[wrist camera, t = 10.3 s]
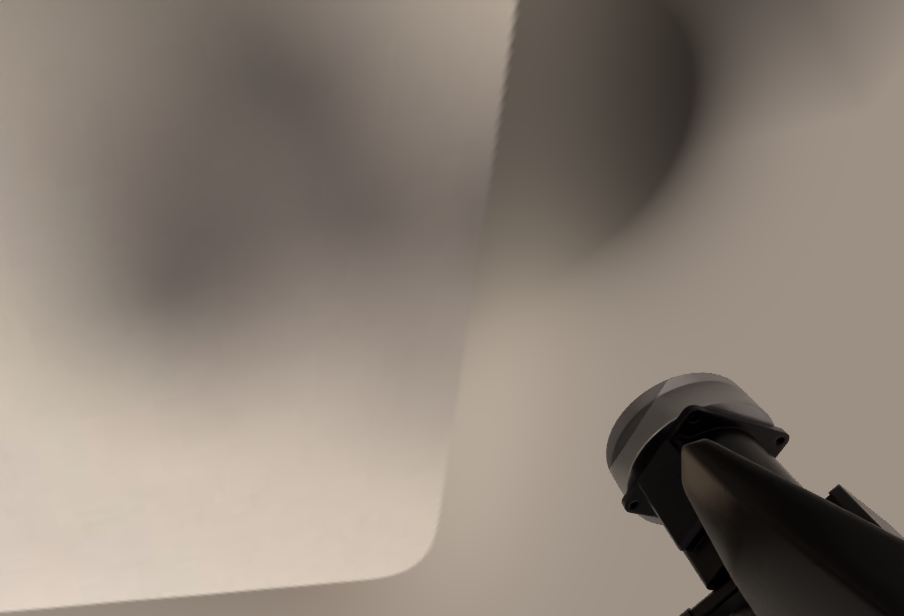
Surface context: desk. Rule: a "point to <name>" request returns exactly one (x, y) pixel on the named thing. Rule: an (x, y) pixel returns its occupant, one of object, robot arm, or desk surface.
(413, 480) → the desk surface
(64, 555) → the desk surface
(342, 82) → the desk surface
